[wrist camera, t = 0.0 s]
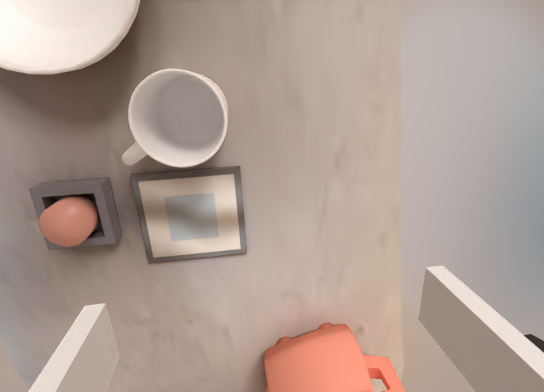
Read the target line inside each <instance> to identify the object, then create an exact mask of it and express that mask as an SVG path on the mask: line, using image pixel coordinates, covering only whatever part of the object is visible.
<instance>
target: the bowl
mask: <svg viewBox="0 0 544 392" xmlns="http://www.w3.org/2000/svg"><path fill="white" fill-rule="evenodd" d="M139 4H140V0H0V68H3V69H6V70H10V71H16V72H21V73H26V74H49V75H53V74H58V73H63V72H68V71H73V70H78V69H82V68H84V67H87V66H89V65H91V64H93V63H96V62H98V61H100V60H101V59H102V58H104V57H105V56H106V55H108V54H109V53H110V52H112V51H113V50H114V49H115V48H116V47H117V46H118V45H119V43H120V42H121V41H122V40H123V38H124V37H125V36H126V35H127V33H128V31H129V29H130V27H131V25H132V23H133V21H134V19H135V17H136V15H137V12H138V8H139Z"/></svg>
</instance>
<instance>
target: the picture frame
mask: <svg viewBox="0 0 544 392" xmlns="http://www.w3.org/2000/svg"><path fill="white" fill-rule="evenodd" d="M131 181H132V185H133V190H134V195H135V200H136V205H137V209H138V214H139V219H140V224H141V229H142V234H143V238H144V243H145V248H146V253H147V258H148V262H149V263H153V262H163V261H173V260H182V259H192V258H202V257H212V256H221V255H231V254H241V253H247V247H246V235H245V223H244V211H243V199H242V187H241V175H240V166H235V167H222V168H208V169H195V170H182V171H169V172H155V173H142V174H132V175H131Z"/></svg>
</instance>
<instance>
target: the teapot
mask: <svg viewBox="0 0 544 392" xmlns="http://www.w3.org/2000/svg"><path fill="white" fill-rule="evenodd" d="M264 365H265V373H266V378H267V384H268V385H267V388H266V391H265V392H374V389H373V385H372V382H371V379H370V378H375V379H382V381H383V383H384V384H385V386H386V388H387V390H385V391H382V392H405V390H404V388H403V386H402V384H401V382H400V380H399V378H398V376H397V374H396V372H395V370H394V368H393V366H392V363H391V361H390V359H389V358H388V357H377V356H367V355H362V352H361V350H360V347H359V345H358V342H357V340H356V338H355V336H354V334H353V333H352V331H351V330H350V329H349V327H348V326H347V325H345V324H340V325H335V326H334V325H333V324H331V323H324V324H322V325H321V326H320V327H319V328H318V330H316V331H312V332H309V333H306V334H303V335H300V336H298V337H295V338H292V339H291V338H290V337H283V338H281V339H279V340H278V341H277V343H276V345H275V346H273V347H271V348H269V349H268V350H266V352H265V358H264Z"/></svg>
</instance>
